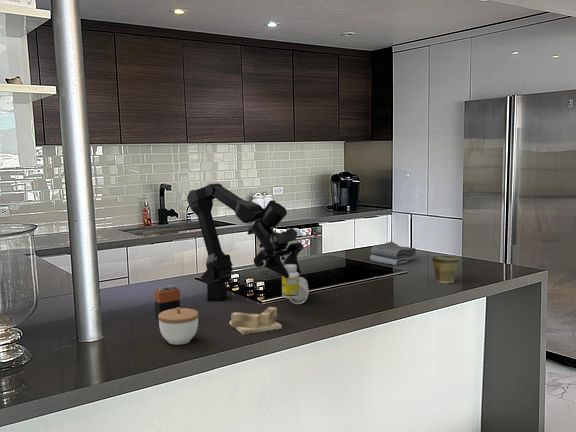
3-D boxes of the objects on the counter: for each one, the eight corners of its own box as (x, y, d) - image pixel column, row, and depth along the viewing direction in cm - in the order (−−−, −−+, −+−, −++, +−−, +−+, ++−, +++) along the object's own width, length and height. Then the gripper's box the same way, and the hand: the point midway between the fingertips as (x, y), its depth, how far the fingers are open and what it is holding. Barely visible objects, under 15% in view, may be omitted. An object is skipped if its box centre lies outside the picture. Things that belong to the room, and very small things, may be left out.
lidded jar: (205, 342, 151) (204, 309, 150) (167, 350, 145) (166, 315, 144) (189, 332, 160) (188, 300, 159) (153, 339, 154) (152, 306, 153)
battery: (181, 317, 174) (180, 286, 173) (160, 321, 170) (159, 289, 169) (174, 314, 177) (173, 283, 176) (154, 318, 173) (153, 286, 172)
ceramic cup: (457, 286, 210) (457, 260, 209) (430, 284, 214) (430, 258, 212) (460, 278, 222) (460, 254, 221) (434, 276, 226) (435, 252, 224)
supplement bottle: (282, 293, 176) (282, 263, 175) (299, 293, 176) (299, 263, 174) (281, 298, 170) (281, 267, 169) (299, 298, 170) (299, 267, 169)
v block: (225, 324, 166) (225, 310, 166) (269, 317, 173) (269, 303, 172) (239, 335, 156) (239, 320, 156) (285, 327, 163) (285, 312, 162)
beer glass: (305, 296, 202) (304, 307, 187) (287, 290, 202) (284, 301, 187) (311, 279, 201) (311, 288, 186) (293, 273, 201) (291, 281, 186)
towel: (368, 262, 256) (368, 245, 255) (389, 256, 270) (390, 240, 269) (397, 266, 246) (397, 249, 245) (418, 260, 260) (418, 244, 259)
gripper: (260, 223, 165) (289, 265, 160) (299, 217, 180) (326, 255, 174) (241, 246, 171) (268, 287, 166) (280, 238, 186) (306, 276, 180)
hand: (293, 275), depth 171 cm, fingers closed on supplement bottle, 5 cm apart
